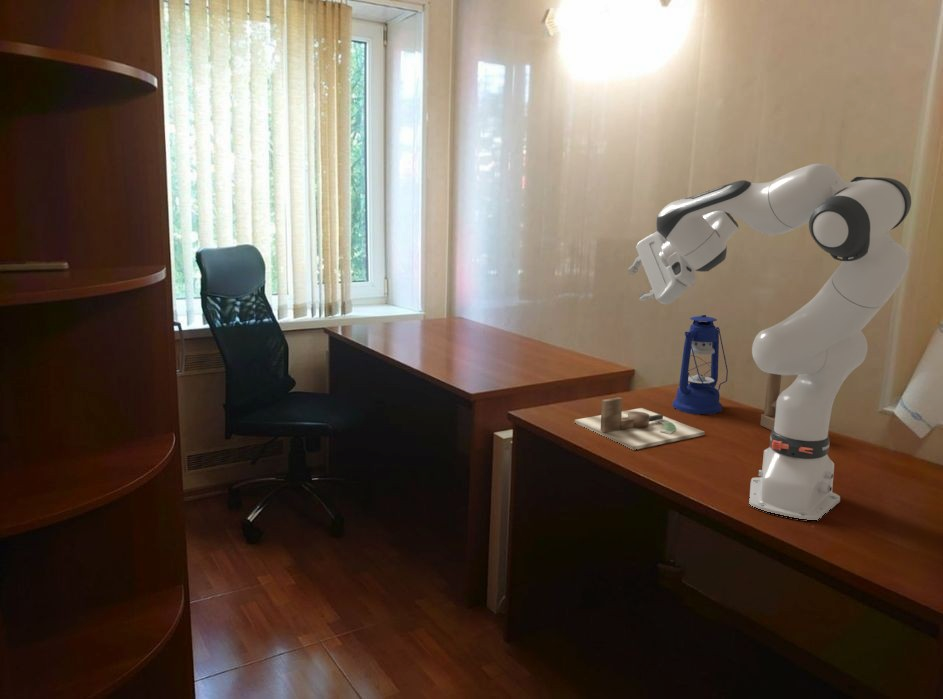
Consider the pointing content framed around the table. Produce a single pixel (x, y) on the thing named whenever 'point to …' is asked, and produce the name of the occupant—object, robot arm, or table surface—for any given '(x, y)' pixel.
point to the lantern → (701, 389)
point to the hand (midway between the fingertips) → (635, 285)
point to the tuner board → (643, 431)
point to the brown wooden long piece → (613, 414)
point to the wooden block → (771, 401)
